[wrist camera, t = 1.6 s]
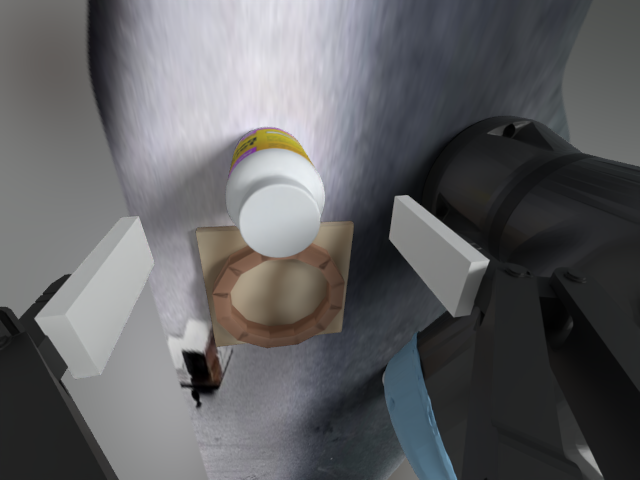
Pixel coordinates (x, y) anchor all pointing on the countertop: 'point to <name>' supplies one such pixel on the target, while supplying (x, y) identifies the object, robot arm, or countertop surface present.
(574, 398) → the robot arm
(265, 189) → the supplement bottle
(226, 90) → the countertop surface
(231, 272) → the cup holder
